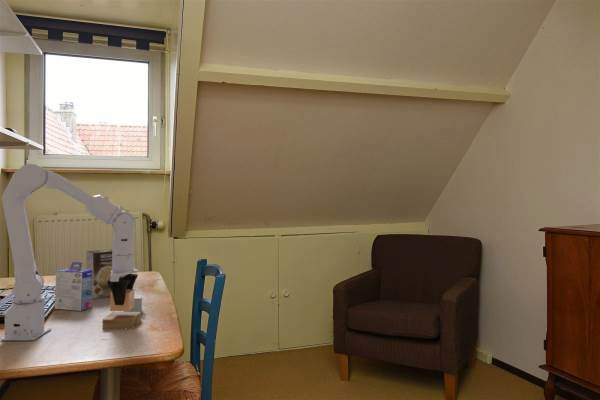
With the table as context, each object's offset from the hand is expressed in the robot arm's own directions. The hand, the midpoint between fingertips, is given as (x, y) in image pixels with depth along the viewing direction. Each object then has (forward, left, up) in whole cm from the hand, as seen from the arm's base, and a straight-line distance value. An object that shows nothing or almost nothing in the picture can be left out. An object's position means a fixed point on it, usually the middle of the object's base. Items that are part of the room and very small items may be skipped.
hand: (122, 302), depth 130 cm
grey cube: (+13, +1, -6) cm, 15 cm away
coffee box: (+36, +19, -6) cm, 41 cm away
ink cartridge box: (+18, +21, -6) cm, 28 cm away
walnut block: (0, 0, -7) cm, 7 cm away
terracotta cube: (0, 0, -2) cm, 2 cm away
